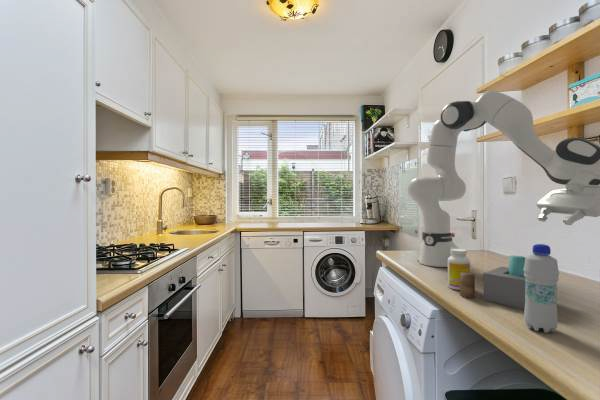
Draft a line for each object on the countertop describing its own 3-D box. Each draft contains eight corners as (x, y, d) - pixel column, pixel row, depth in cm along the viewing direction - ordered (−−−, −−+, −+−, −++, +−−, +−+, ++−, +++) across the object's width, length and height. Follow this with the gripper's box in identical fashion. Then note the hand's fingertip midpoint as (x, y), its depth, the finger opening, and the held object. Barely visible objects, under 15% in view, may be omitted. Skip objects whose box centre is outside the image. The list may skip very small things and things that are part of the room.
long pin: (511, 297, 99) (512, 255, 98) (527, 301, 96) (527, 257, 95) (506, 300, 96) (506, 256, 96) (522, 304, 93) (522, 258, 93)
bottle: (563, 330, 76) (563, 244, 75) (552, 337, 72) (553, 247, 71) (529, 320, 81) (530, 241, 80) (518, 327, 77) (518, 243, 77)
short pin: (463, 293, 103) (464, 271, 103) (477, 296, 100) (477, 273, 100) (457, 295, 101) (457, 273, 101) (470, 299, 98) (471, 276, 97)
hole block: (501, 291, 105) (501, 266, 105) (550, 301, 95) (550, 274, 95) (483, 299, 97) (483, 273, 97) (534, 312, 87) (535, 282, 87)
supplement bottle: (472, 291, 105) (472, 251, 105) (450, 290, 106) (450, 251, 106) (466, 285, 112) (466, 248, 111) (445, 284, 113) (445, 247, 113)
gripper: (549, 182, 108) (520, 211, 108) (611, 180, 87) (575, 217, 87) (562, 195, 108) (533, 224, 108) (626, 197, 88) (591, 233, 88)
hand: (552, 221), depth 98 cm, fingers open, 8 cm apart
